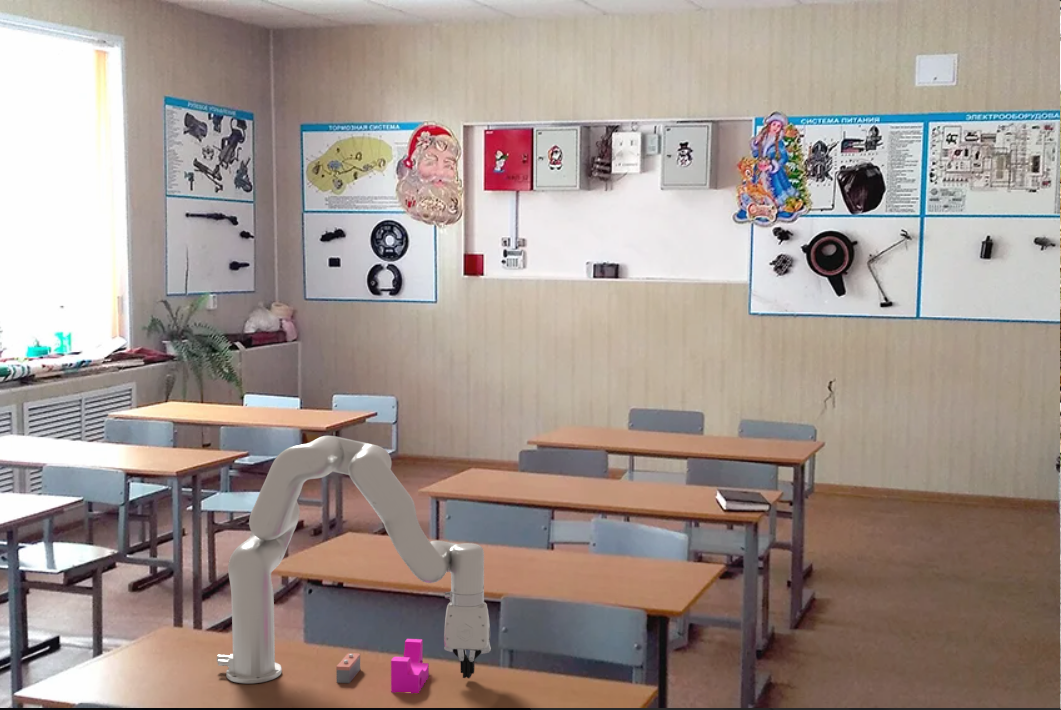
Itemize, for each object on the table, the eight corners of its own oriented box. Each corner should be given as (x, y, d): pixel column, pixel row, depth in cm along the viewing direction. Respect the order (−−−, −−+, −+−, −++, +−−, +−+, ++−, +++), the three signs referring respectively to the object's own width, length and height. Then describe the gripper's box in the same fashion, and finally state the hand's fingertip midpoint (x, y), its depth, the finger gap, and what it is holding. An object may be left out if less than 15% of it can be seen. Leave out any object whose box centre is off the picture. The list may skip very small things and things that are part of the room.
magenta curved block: (418, 694, 260) (418, 662, 259) (391, 693, 261) (390, 660, 260) (432, 670, 275) (432, 640, 274) (407, 669, 275) (407, 638, 275)
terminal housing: (336, 682, 266) (336, 663, 266) (348, 668, 275) (347, 650, 275) (349, 683, 266) (349, 664, 265) (360, 669, 275) (360, 651, 274)
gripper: (431, 601, 263) (432, 680, 264) (497, 604, 261) (496, 684, 262) (439, 592, 270) (439, 668, 272) (502, 595, 268) (502, 672, 270)
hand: (467, 676), depth 267 cm, fingers closed
